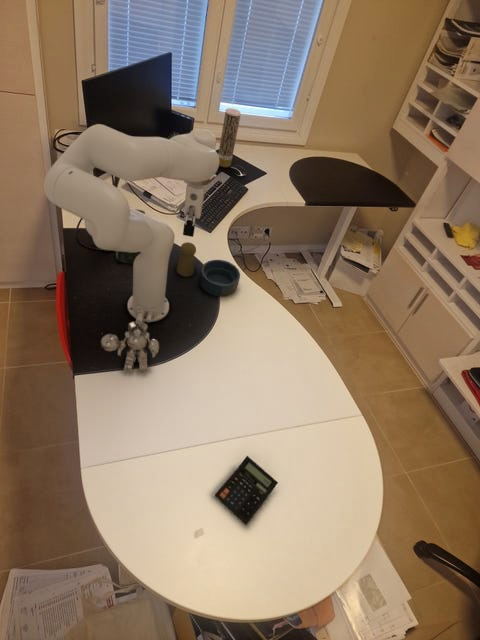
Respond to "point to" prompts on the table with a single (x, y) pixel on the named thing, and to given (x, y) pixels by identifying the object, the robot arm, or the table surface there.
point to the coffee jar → (127, 254)
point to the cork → (186, 259)
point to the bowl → (219, 277)
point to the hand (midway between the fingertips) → (189, 226)
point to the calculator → (246, 490)
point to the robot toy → (132, 345)
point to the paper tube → (228, 137)
